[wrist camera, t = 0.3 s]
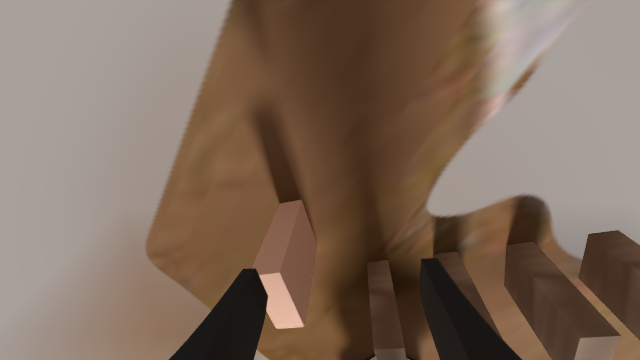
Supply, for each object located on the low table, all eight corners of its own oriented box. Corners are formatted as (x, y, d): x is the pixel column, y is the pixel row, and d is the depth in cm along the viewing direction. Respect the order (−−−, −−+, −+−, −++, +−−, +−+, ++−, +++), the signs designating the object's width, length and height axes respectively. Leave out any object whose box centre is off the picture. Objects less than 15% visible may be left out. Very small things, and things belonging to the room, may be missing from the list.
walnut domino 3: (504, 285, 24) (567, 383, 17) (506, 244, 22) (580, 338, 15) (528, 283, 24) (603, 383, 17) (532, 241, 22) (621, 335, 15)
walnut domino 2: (437, 292, 26) (470, 386, 19) (433, 254, 23) (469, 344, 16) (459, 290, 25) (501, 385, 18) (456, 251, 23) (504, 342, 16)
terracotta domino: (296, 247, 25) (276, 328, 18) (279, 203, 23) (248, 276, 15) (317, 244, 24) (304, 326, 17) (301, 199, 22) (279, 272, 15)
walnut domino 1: (375, 297, 27) (385, 388, 20) (366, 262, 25) (373, 349, 18) (395, 296, 26) (412, 388, 19) (387, 259, 24) (404, 348, 17)
